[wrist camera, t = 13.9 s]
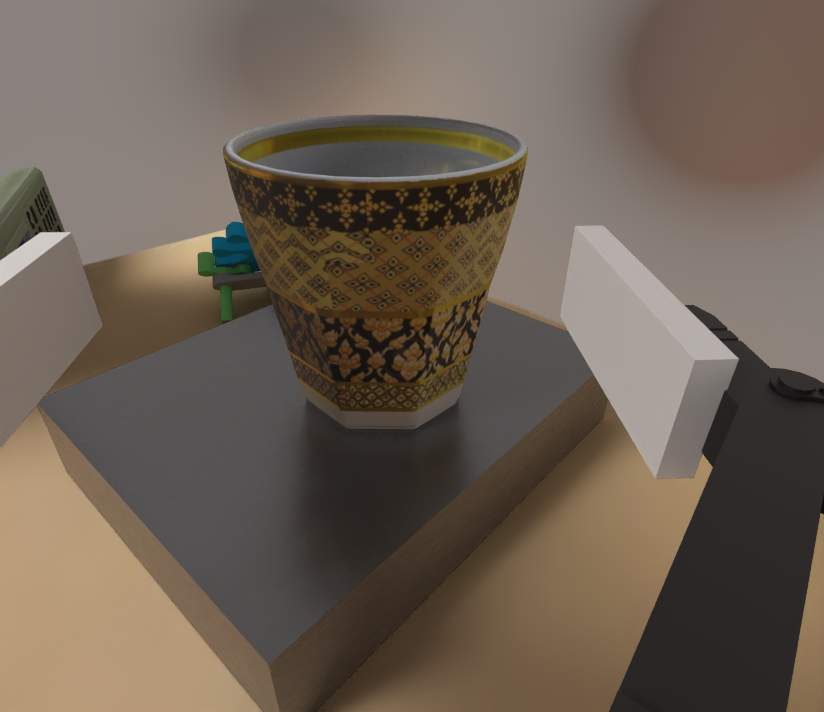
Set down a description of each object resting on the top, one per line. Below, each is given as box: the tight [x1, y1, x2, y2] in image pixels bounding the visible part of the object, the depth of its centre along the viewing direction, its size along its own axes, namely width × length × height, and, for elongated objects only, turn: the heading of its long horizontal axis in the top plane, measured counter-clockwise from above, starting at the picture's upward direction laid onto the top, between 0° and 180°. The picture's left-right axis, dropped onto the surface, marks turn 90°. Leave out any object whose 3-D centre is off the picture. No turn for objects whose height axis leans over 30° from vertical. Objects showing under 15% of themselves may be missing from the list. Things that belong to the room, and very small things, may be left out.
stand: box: [37, 301, 608, 712], centre depth 26 cm, size 16×20×4 cm
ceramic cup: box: [223, 115, 528, 429], centre depth 22 cm, size 13×10×10 cm
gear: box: [198, 222, 267, 323], centre depth 37 cm, size 11×6×10 cm
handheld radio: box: [0, 167, 65, 260], centre depth 36 cm, size 7×3×25 cm
